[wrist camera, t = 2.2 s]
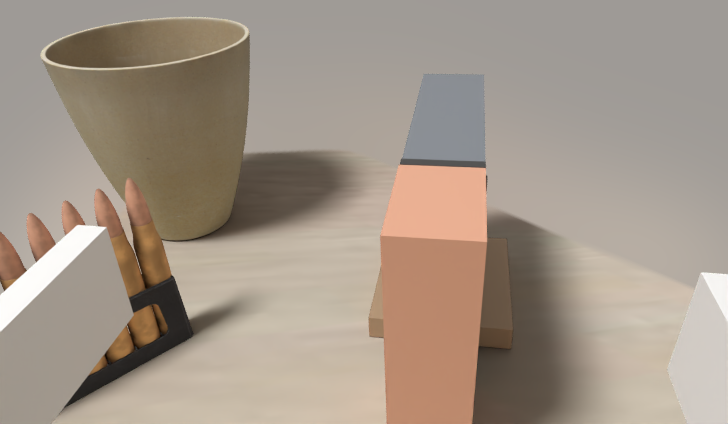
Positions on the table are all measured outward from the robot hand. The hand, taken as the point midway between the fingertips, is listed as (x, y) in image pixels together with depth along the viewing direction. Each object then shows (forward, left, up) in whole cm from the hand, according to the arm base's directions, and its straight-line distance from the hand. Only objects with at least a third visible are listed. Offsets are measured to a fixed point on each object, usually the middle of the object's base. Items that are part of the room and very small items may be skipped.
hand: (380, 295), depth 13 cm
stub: (+11, -2, -18) cm, 21 cm away
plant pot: (+32, +19, -18) cm, 41 cm away
